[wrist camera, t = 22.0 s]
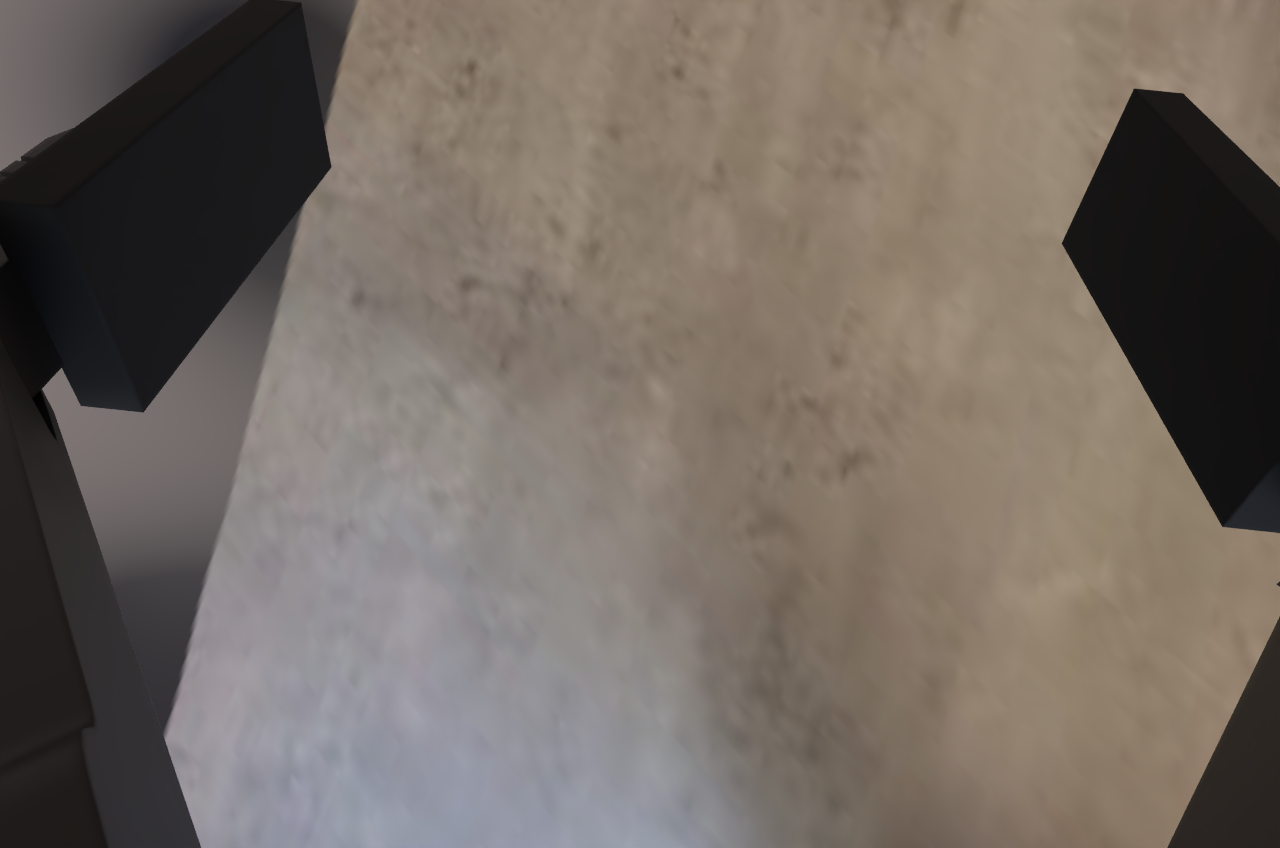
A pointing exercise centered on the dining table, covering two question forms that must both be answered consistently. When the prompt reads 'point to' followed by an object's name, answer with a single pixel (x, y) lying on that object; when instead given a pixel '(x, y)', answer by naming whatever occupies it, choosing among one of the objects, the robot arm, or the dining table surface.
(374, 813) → the dining table surface
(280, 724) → the dining table surface
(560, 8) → the dining table surface
